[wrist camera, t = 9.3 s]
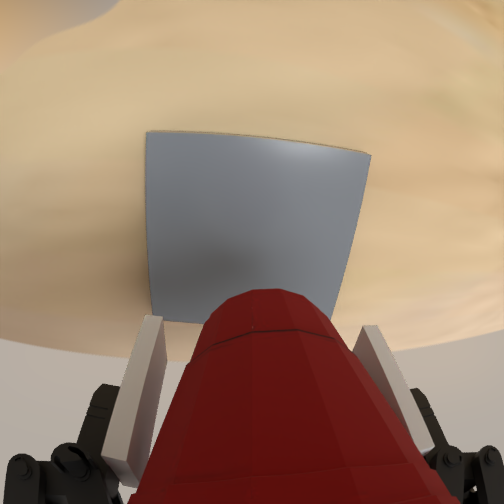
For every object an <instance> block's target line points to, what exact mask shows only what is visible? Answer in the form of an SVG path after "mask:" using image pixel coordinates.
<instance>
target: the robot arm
mask: <svg viewBox="0 0 504 504" xmlns="http://www.w3.org/2000/svg"><path fill="white" fill-rule="evenodd" d="M352 352H353V353H354V354H355V355H356V356H357V357H358V359H359V360H360V362H361V363H362V365H363V366H364V368H365V369H366V371H367V372H368V373H369V375H370V376H371V378H372V379H373V381H374V382H375V384H376V385H377V387H378V388H379V390H380V391H381V393H382V394H383V396H384V397H385V399H386V400H387V402H388V403H389V405H390V406H391V408H392V410H393V411H394V413H395V414H396V416H397V417H398V419H399V420H400V422H401V423H402V425H403V426H404V428H405V429H406V431H407V432H408V434H409V436H410V437H411V439H412V440H413V442H414V443H415V445H416V446H417V448H418V450H419V451H420V453H421V454H422V456H423V457H424V459H425V461H426V462H427V464H428V465H429V467H430V469H433V470H436V472H437V473H438V475H439V477H440V478H441V480H442V481H443V483H444V485H445V486H446V488H447V489H448V491H449V493H450V494H451V496H456V497H457V499H458V500H459V502H460V504H504V465H503V461H502V458H501V455H500V453H499V451H498V450H497V449H496V448H495V447H493V446H488V445H487V446H485V447H483V448H482V449H481V450H480V451H478V452H471V453H462V452H461V451H460V450H459V449H458V448H457V447H454V446H450V445H449V444H448V442H447V441H446V438H445V436H444V434H443V432H442V429H441V427H440V425H439V423H438V421H437V419H436V416H434V412H433V410H432V408H430V404H429V402H428V400H427V398H426V396H425V395H424V394H423V393H422V392H421V391H420V390H419V389H418V388H414V389H409V387H408V385H407V383H406V381H405V379H404V377H403V375H402V373H401V371H400V369H399V367H398V365H397V363H396V361H395V359H394V357H393V355H392V353H391V351H390V349H389V347H388V345H387V343H386V341H385V339H384V337H383V335H382V333H381V332H380V330H379V328H378V326H377V325H376V326H362V329H361V332H360V334H359V337H358V339H357V341H356V344H355V346H354V349H353V351H352ZM166 365H167V354H166V345H165V335H164V324H163V316H153V315H145V317H144V320H143V322H142V325H141V328H140V331H139V333H138V336H137V339H136V342H135V345H134V348H133V350H132V353H131V356H130V359H129V363H128V365H127V368H126V371H125V374H124V377H123V380H122V384H121V387H119V386H113V385H108V384H102V385H101V386H100V387H99V388H98V389H97V390H96V391H95V392H94V394H93V396H92V399H91V402H90V407H89V408H88V410H87V413H86V414H87V415H86V416H85V419H84V422H83V425H82V428H81V431H80V434H79V437H78V440H77V443H64V444H61V445H59V446H58V447H57V448H55V449H54V451H53V453H52V455H51V461H36V460H35V459H34V458H33V457H31V456H30V455H27V454H17V455H15V456H13V457H12V458H11V459H10V460H9V463H8V466H7V473H6V481H5V490H4V500H3V504H123V501H122V498H121V496H120V493H119V491H118V487H119V481H120V482H121V483H122V485H124V486H128V487H133V488H138V486H139V483H140V481H141V478H142V475H143V473H144V470H145V468H146V465H147V463H148V459H149V453H150V447H151V441H152V436H153V430H154V424H155V419H156V414H157V409H158V404H159V398H160V393H161V388H162V384H163V379H164V374H165V369H166ZM474 486H476V488H477V491H474V489H473V487H474Z"/></svg>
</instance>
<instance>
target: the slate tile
mask: <svg viewBox="0 0 504 504" xmlns="http://www.w3.org/2000/svg"><path fill="white" fill-rule="evenodd" d="M370 160H371V155H370V154H368V153H365V152H361V151H356V150H350V149H345V148H339V147H333V146H327V145H321V144H315V143H308V142H301V141H293V140H286V139H277V138H269V137H259V136H249V135H237V134H224V133H208V132H186V131H149V132H147V133H146V231H147V252H148V267H149V281H150V293H151V303H152V313H153V316H163V320H165V321H175V322H187V323H199V324H205V322H206V321H207V320H208V319H209V317H210V314H211V313H212V312H213V311H215V310H216V309H217V308H218V307H219V306H220V305H221V304H222V303H224V302H225V301H226V300H227V299H228V298H231V297H234V296H236V295H239V294H242V293H244V292H247V291H250V290H252V289H275V288H280V289H283V290H287V291H290V292H293V293H297V294H300V295H303V296H305V297H306V298H307V299H308V300H309V301H310V302H312V303H313V304H314V305H315V306H316V307H318V308H319V309H320V311H322V312H323V313H324V314H325V315H326V316H327V317H328V318H329V320H331V316H332V313H333V310H334V307H335V303H336V300H337V297H338V293H339V290H340V286H341V283H342V279H343V276H344V272H345V268H346V265H347V261H348V257H349V254H350V250H351V246H352V242H353V238H354V234H355V230H356V226H357V221H358V217H359V213H360V208H361V204H362V199H363V195H364V190H365V185H366V180H367V175H368V170H369V165H370Z"/></svg>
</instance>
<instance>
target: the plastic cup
mask: <svg viewBox="0 0 504 504" xmlns="http://www.w3.org/2000/svg"><path fill="white" fill-rule="evenodd" d="M127 504H460V502H459V500H458V499H457V497H456V496H451V494H450V493H449V491H448V489H447V488H446V486H445V485H444V483H443V481H442V480H441V478H440V477H439V475H438V473H437V472H436V470H433V469H430V467H429V465H428V464H427V462H426V461H425V459H424V457H423V456H422V454H421V453H420V451H419V450H418V448H417V446H416V445H415V443H414V442H413V440H412V439H411V437H410V436H409V434H408V432H407V431H406V429H405V428H404V426H403V425H402V423H401V422H400V420H399V419H398V417H397V416H396V414H395V413H394V411H393V410H392V408H391V406H390V405H389V403H388V402H387V400H386V399H385V397H384V396H383V394H382V393H381V391H380V390H379V388H378V387H377V385H376V384H375V382H374V381H373V379H372V378H371V376H370V375H369V373H368V372H367V371H366V369H365V368H364V366H363V365H362V363H361V362H360V360H359V359H358V357H357V356H356V355H355V354H354V353H353V352H352V351H350V350H349V349H348V347H347V346H346V344H345V343H344V341H343V339H342V338H341V336H340V335H339V333H338V332H337V330H336V329H335V327H334V326H333V324H332V323H331V321H330V320H329V318H328V317H327V316H326V315H325V314H324V313H323V312H322V311H320V309H319V308H318V307H316V306H315V305H314V304H313V303H312V302H310V301H309V300H308V299H307V298H306V297H305V296H303V295H300V294H297V293H293V292H290V291H287V290H283V289H280V288H275V289H252V290H250V291H247V292H244V293H242V294H239V295H236V296H234V297H231V298H228V299H227V300H226V301H225V302H224V303H222V304H221V305H220V306H219V307H218V308H217V309H216V310H215V311H213V312H212V313H211V314H210V317H209V319H208V320H207V321H206V322H205V324H204V326H203V329H202V331H201V334H200V336H199V339H198V341H197V344H196V347H195V350H194V352H193V355H192V358H191V361H190V362H189V363H188V364H187V365H186V367H185V370H184V372H183V375H182V377H181V380H180V382H179V384H178V387H177V390H176V392H175V394H174V397H173V399H172V402H171V405H170V407H169V409H168V412H167V415H166V417H165V419H164V422H163V424H162V427H161V429H160V432H159V434H158V437H157V440H156V442H155V445H154V447H153V450H152V453H151V455H150V457H149V460H148V463H147V465H146V468H145V470H144V473H143V475H142V478H141V481H140V483H139V486H138V489H137V491H136V493H135V494H131V496H130V499H129V501H128V503H127Z"/></svg>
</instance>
